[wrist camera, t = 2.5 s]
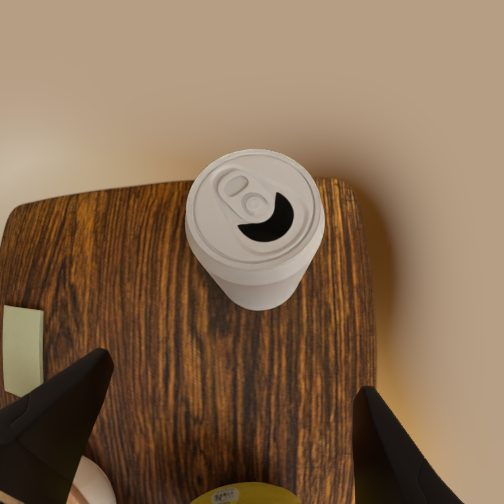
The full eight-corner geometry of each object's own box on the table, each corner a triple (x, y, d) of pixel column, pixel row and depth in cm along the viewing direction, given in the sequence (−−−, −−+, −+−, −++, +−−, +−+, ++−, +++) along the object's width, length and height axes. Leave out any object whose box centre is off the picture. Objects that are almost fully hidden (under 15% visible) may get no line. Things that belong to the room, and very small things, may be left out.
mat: (45, 405, 20) (42, 406, 19) (8, 390, 20) (4, 390, 19) (44, 311, 23) (40, 310, 22) (7, 306, 23) (4, 305, 22)
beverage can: (257, 328, 22) (248, 315, 10) (203, 269, 23) (149, 201, 12) (315, 273, 23) (361, 206, 11) (260, 219, 24) (256, 120, 13)
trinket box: (35, 450, 18) (-22, 467, 9) (83, 417, 19) (15, 436, 10) (94, 526, 15) (51, 561, 6) (155, 505, 17) (114, 557, 8)
